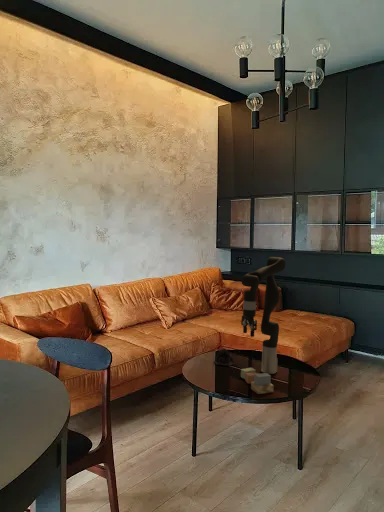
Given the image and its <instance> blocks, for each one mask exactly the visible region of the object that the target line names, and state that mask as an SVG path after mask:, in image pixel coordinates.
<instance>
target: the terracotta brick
mask: <svg viewBox="0 0 384 512" xmlns="http://www.w3.org/2000/svg"><path fill="white" fill-rule="evenodd" d="M255 374H260V373H259V372H256V373H246V379H245V382H246V383H247V384H251V382H254V376H255Z"/></svg>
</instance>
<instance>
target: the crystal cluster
mask: <svg viewBox="0 0 384 512" xmlns="http://www.w3.org/2000/svg"><path fill="white" fill-rule="evenodd" d="M234 362H235V361H234V357H233V356H232V355H231V353H230V352H229V350H227V349H226V348H222V349H220V350H219V351H217V354H216V357H215V359H214V363H215V364H216V365H220V366H232V365H234Z"/></svg>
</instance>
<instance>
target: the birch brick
mask: <svg viewBox="0 0 384 512" xmlns="http://www.w3.org/2000/svg"><path fill="white" fill-rule="evenodd" d="M274 386H275V385H274V384H272V382H270V384H268V385H260V386H258V385H257V384H255V383H254V382H251V383H250V389H251V391H253V392H255V393H256V394H257V395H260V394H261V395H262V394H269V393H274V388H275V387H274Z"/></svg>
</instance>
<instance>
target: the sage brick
mask: <svg viewBox="0 0 384 512" xmlns="http://www.w3.org/2000/svg"><path fill="white" fill-rule="evenodd" d="M246 373H257V372H256V368H255V369H254V368H253V367H246V368H241V369H240V378H242V379H244V380H246Z"/></svg>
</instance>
